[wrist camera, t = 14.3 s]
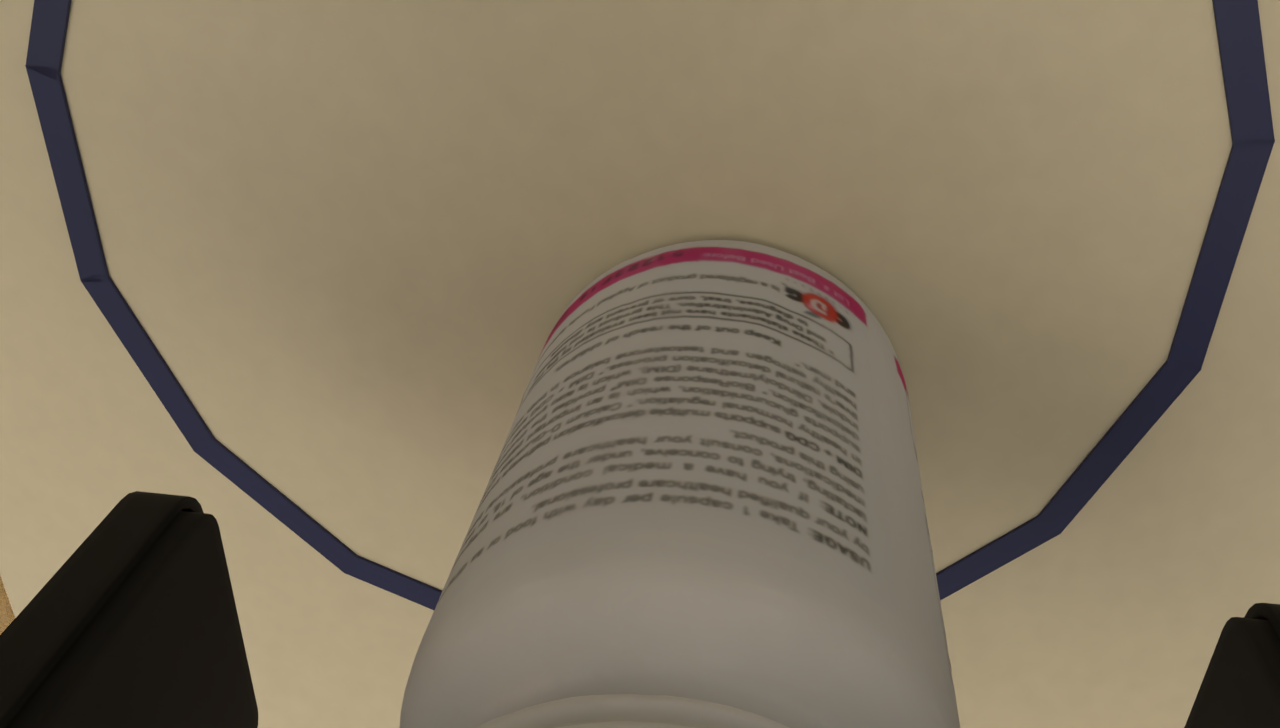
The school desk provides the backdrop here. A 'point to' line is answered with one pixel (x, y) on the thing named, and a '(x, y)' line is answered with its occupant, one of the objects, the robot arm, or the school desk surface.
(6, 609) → the school desk surface
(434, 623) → the pill bottle
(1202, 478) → the sheet
